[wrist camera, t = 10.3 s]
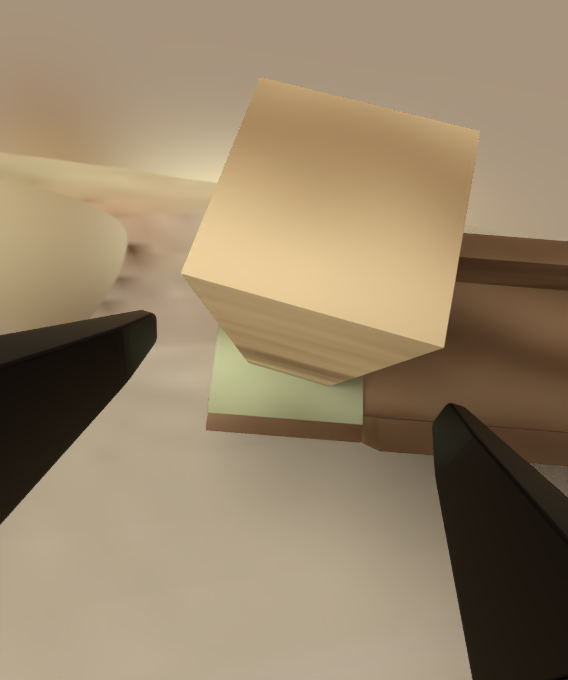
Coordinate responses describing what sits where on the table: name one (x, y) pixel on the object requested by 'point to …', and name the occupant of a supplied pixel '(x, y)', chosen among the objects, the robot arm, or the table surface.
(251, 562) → the table surface
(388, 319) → the birch block
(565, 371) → the walnut channel
